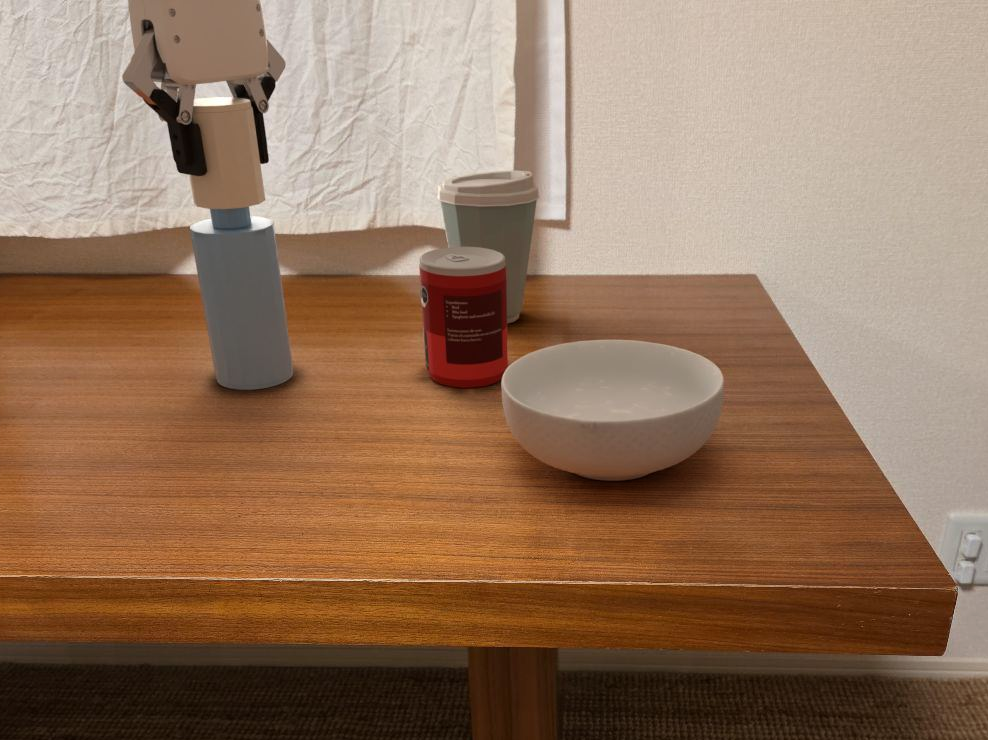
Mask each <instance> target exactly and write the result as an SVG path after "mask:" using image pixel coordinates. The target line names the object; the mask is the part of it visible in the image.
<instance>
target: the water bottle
mask: <svg viewBox="0 0 988 740" xmlns="http://www.w3.org/2000/svg"><path fill="white" fill-rule="evenodd" d="M209 213H210V218H207V219H203V220H199V221H197V222H194V223H192V224H191V225H190V227H189V233H190V239H191V244H192V250H193V256H194V261H195V267H196V268H195V269H196V272H197V273H196V274H197V279H198V283H199V291H200V296H201V301H202V307H203V312H204V318H205V325H206V330H207V335H208V336H207V337H208V341H209V348H210V352H211V360H212V364H213V369H214V375H215V378H216V382H217V383H218V384H219V385H220V386H222V387H223V388H226V389H231V390H240V391H241V390H242V391H252V390H261V389H267V388H272V387H276V386H278V385H281V384H284V383H285V382H287V381H289V380H290V379H292V377H293V375H294V365H293V364H294V363H293V356H292V349H291V342H290V335H289V327H288V319H287V312H286V311H287V310H286V304H285V298H284V297H285V296H284V289H283V281H282V275H281V268H280V259H279V253H278V245H277V238H276V237H277V236H276V230H275V222H274V221H273V220H272V219H270V218H269V217H263V216H258V215H251V212H250V206H249V207H244V208H233V209H209Z"/></svg>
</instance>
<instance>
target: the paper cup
mask: <svg viewBox="0 0 988 740" xmlns="http://www.w3.org/2000/svg"><path fill="white" fill-rule="evenodd" d="M192 123H197V124H198V125H199V127H200V130H201V136H202V142H203V148H204V154H205V160H206V166H207V173H206V175H204V176H194V175H188V177H189V181H190V188H191V192H192V193H191V195H192V199H193V203H194V205H195V206H196V207H197V208H201V209H207V210H210V209H233V208H244V207H249V208H250V207H253V206H258V205H260V204H262V203H263V202H265V201H266V194H265V193H266V192H265V188H264V187H265V186H264V180H263V173H262V164H260V158H259V150H258V143H257V136H256V129H255V122H254V115H253V108H252V107H251V101H250V100H249V99H245V98H233V96H232V97H231V96H230V97H229V96H225V97H222V96H219V97H202V98H201V97H200V98H194V106H193V114H192Z"/></svg>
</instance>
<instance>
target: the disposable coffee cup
mask: <svg viewBox="0 0 988 740" xmlns="http://www.w3.org/2000/svg"><path fill="white" fill-rule="evenodd" d="M436 196H437V200H438V201H439V202H440V208H441V214H442V220H443V225H444V230H445V231H444V232H445V236H446V242H447V248H449V247H479V248H486V249H491V250H495V251H497V252H500V253H501V254H503V255H504V256H505V262H506V284H507V324H511V323H514V322H516V321H517V320H518V319H520V314H521V312H522V311H523V306H524V305H523V304H524V297H525V291H526V283H527V277H528V276H527V275H528V268H529V267H528V266H529V260H530V252H531V246H532V245H531V244H532V237H533V231H534V230H533V229H534V223H535V215H536V208H537V201H538V200H539V199H540V196H539V187H538V186H537V185H536V183H534V174H533V173H532V172H531V171H529V170H497V171H496V170H494V171H486V172H485V171H484V172H475V173H469V174H468V173H467V174H462V175H457V176H453V177H449V178H447V179H444V180H442V184H439V186H437V195H436Z"/></svg>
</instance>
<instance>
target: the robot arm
mask: <svg viewBox="0 0 988 740" xmlns="http://www.w3.org/2000/svg"><path fill="white" fill-rule="evenodd" d="M127 2H128V12H129V13H128V14H129V22H130V29H131V37H132V38H131V39H132V43H133V49H134V52H133V54H132V56H131V58H130V60H129V62H128V64H127V66H126V68H125V69H124V71H123V73H122V81H123V83H124V84H125V85H126V86H127V87H128V89H130V90H131V91H132V92H134V93H135V94H136V95H137V96H138V97H140V98H141V99H142V100H143V102H144V103H145V104H146V105H147V106H148V107H149V108H150V109H151V110H153V111H154V112H155V113H156V114H157V115H158V119H159V120H160V121H161V122H163V123H166V124H167V130H168V131H167V132H168V136H169V143H170V147H171V152H172V159H173V161H174V163H175V167H176V170H177V172H178V173H179V174H183V175H188V176H189V175H194V176H204V175H206V173H207V166H206V160H205V154H204V148H203V142H202V136H201V130H200V127H199V125H198V124H197V123H192V114H193V106H194V99H196V98H195V96H196V87H197V85H204V84H212V83H220V82H226V85H227V87H228V89H229V92H230V93H231V95H232V97H233V98H245V99H249V100H250V101H251V107H252V108H253V115H254V122H255V129H256V136H257V143H258V150H259V158H260V165H264V164H268V163H269V161H270V158H269V150H268V141H267V132H266V125H265V119H264V117H265V116H264V114H266V113H267V112H268V111H269V110H270V109H269V108H270V104H269V101H270V99H271V97H272V96H273V93H274V91H275V90H276V87H277V86H276V83H278V81H279V79H280V78H281V76H282V75H283V73H284V70H285V69H286V61H285V59H284V57H283V56H282V55H281V54H280V53H279V52H278V50H277V49H276V48H275V47H274V45H273V44H272V43H271V42H270V41H269V39H268V38H267V33H266V32H267V31H266V27H265V25H266V24H265V20H264V14H263V8H262V4H261V0H127ZM157 83H160V87H158V86H157Z"/></svg>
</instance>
